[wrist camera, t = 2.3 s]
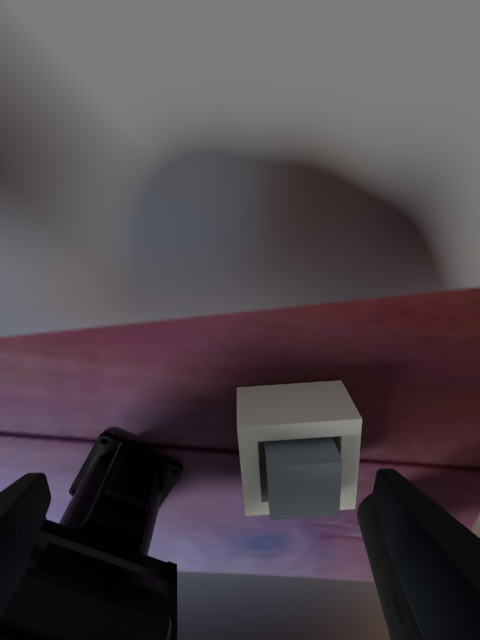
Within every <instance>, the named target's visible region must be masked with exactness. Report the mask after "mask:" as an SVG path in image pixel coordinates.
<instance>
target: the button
mask: <svg viewBox="0 0 480 640" xmlns="http://www.w3.org/2000/svg"><path fill="white" fill-rule="evenodd" d="M264 457H265V474H266V485H267V495H268V504H269V514H270V520H274V519H290V518H306V517H321V516H337V515H339V513H340V495H341V477H342V460H341V457H340V455H339V452H338V450H337V447H336V445H335V442H334V439H333V437H320V438H305V439H290V440H275V441H264Z"/></svg>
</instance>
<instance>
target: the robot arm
mask: <svg viewBox="0 0 480 640" xmlns="http://www.w3.org/2000/svg"><path fill="white" fill-rule="evenodd" d="M104 439H106V440H107V441H106V440H104ZM174 469H177V470H174ZM182 471H183V466H182V464H180V463H178V462H176V461H173V460H171V459H169V458H167V457H164V456H162V455H160V454H157V453H155V452H153V451H150V450H148V449H146V448H143V447H141V446H139V445H136V444H134V443H132V442H129V441H127V440H125V439H122V438H120V437H118V436H115V435H113V434H111V433H108V432H103V433H101V434H100V435H99V437H98V439H97V441H96V443H95V444H94V446H93V448H92V450H91V452H90V453H89V455H88V457H87V459H86V461H85V462H84V464H83V466H82V468H81V470H80V472H79V473H78V475H77V477H76V479H75V481H74V482H73V484H72V486H71V488H70V490H69V493H70V494H71V495H72V496H73V498H72V500H71V501H70V503H69V505H68V507H67V509H66V511H65V513H64V515H63V517H62V519H61V521H60V522H59V524H58V523H55V522H53V521H50V520H47V519H46V517H45V516H46V513H47V511H48V508H49V505H50V502H51V493H50V490H49V486H48V482H47V478H46V475H45V474H44V473H27V474H25V475H24V476H22V477H21V478H20V479H18V480H17V481H15V482H14V483H13V484H11V485H10V486H8V487H7V488H5V489H4V490H3V491H1V492H0V640H177V564H175V563H172V562H169V561H168V562H164V561H161V560H158V559H156V558H153V557H150V556H148V551H149V547H150V543H151V539H152V534H153V530H154V526H155V522H156V518H157V513H158V509H159V506H160V505H161V503H162V502H163V500H164V499H165V497H166V496H167V495H168V493H169V492H170V490H171V489H172V487H173V486H174V485H175V483H176V482H177V480H178V479H179V477H180V476H181V475H182ZM373 498H374V502H375V506H376V509H377V512H378V515H379V519H380V522H381V525H382V529H383V532H384V535H385V539H386V542H387V545H388V549H389V552H390V555H391V558H392V561H393V564H394V566H395V569H396V571H397V574H398V576H399V579H400V581H401V584H402V586H403V588H404V591H405V593H406V596H407V598H408V601H409V603H410V606H411V608H412V611H413V613H414V615H415V618H416V620H417V623H418V625H419V628H420V630H421V633H422V635H423V637H424V640H480V538H478V537H477V536H476V535H475V534H474V533H473V532H471V531H470V530H469V529H468V528H466V527H465V526H464V525H463V524H461V523H460V522H459V521H458V520H456V519H455V518H454V517H453V516H452V515H450V514H449V513H448V512H447V511H445V510H444V509H443V508H442V507H440V506H439V505H438V504H437V503H435V502H434V501H433V500H432V499H431V498H429V497H428V496H427V495H426V494H424V493H423V492H422V491H421V490H419V489H418V488H417V487H416V486H414V485H413V484H412V483H411V482H409V481H408V480H407V479H406V478H405V477H403V476H402V475H401V474H400V473H398V472H397V471H396V470H394V469H379V470H378V471H377V473H376V478H375V483H374V488H373Z"/></svg>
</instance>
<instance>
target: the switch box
mask: <svg viewBox="0 0 480 640" xmlns="http://www.w3.org/2000/svg"><path fill="white" fill-rule="evenodd" d="M361 430H362V417H361V415H360V414H359V412H358V410H357V408H356V406H355V405H354V403H353V401H352V399H351V397H350V395H349V394H348V392H347V390H346V388H345V386H344V384H343V383H342V381H341V380H336V381H322V382H308V383H293V384H279V385H264V386H250V387H237V434H238V444H239V455H240V466H241V476H242V487H243V498H244V508H245V516H252V515H268V514H269V504H268V495H267V485H266V474H265V457H264V441H275V440H290V439H305V438H320V437H333V439H334V442H335V445H336V447H337V450H338V452H339V455H340V457H341V460H342V477H341V495H340V510H346V509H355V506H356V494H357V481H358V468H359V456H360V443H361Z"/></svg>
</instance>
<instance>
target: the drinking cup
mask: <svg viewBox="0 0 480 640" xmlns="http://www.w3.org/2000/svg"><path fill="white" fill-rule="evenodd" d="M357 517H358V521H359V525H360V529H361V532H362V536H363V540H364V543H365V547H366V551H367V554H368V558H369V562H370V566H371V569H372V573H373V577H374V580H375V584H376V588H377V591H378V595H379V598H380V602H381V606H382V610H383V613H384V617H385V620H386V624H387V628H388V632H389V636H390V639H391V640H424V637H423V635H422V633H421V630H420V628H419V625H418V623H417V620H416V618H415V615H414V613H413V611H412V608H411V606H410V603H409V601H408V598H407V596H406V593H405V591H404V588H403V586H402V584H401V581H400V579H399V576H398V574H397V571H396V569H395V566H394V564H393V561H392V558H391V555H390V552H389V549H388V545H387V542H386V539H385V535H384V532H383V529H382V525H381V522H380V519H379V515H378V512H377V509H376V506H375V502H374V498H373V494H371V495H370V496H368V497H367V498H365V499H364V500H363V501H362V503H361V504H360V506H359V508H358V512H357Z"/></svg>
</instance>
